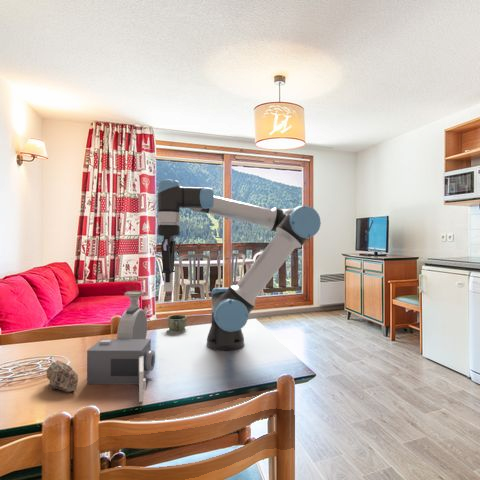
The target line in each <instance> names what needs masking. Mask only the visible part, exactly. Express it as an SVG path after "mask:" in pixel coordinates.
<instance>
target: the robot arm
mask: <svg viewBox="0 0 480 480" xmlns="http://www.w3.org/2000/svg"><path fill="white" fill-rule="evenodd" d="M214 193H215V191H214V189H213V188H212V187H206V186H201V187H200V186H197V187H196V186H181V183H180V181H179V180H177V179H161V180H160V181H159V182H158V184H157V215H156V218H157V223H158V225H157V235H158V236H159V237H160V236H163V239H162V240H161V241H162V242H161V245H160V248H161V259H162V260H161V262H162V264H161V265H162V271H161V273H162V274H163V291H164V292H171V293H172V292H173V289H174V287H173V285H174V283H173V282H174V279H173V276H174V275H173V273H176V270H175V256H176V255H175V254H176V252H175V251H176V245H177V244H176V241H175V236H176V237H178V236H180V235H181V234H180V228H181V227H180V225H179V224H180V223H181V221H180V219H181V216H180V215H181V213H180V208H181V209H185V208H186V209H190V210H191V211H193V212H195V213H196V212H197V213H204V214H209V215H213V216H217V217H222V218H226V219H229V220H230V219H231V220H235V221H238V222H244V223H248V224H253V225H256V226H261V227H265V228H267V229H268V230H269V231H271V232H274V233H275V232H276V234H275V236H274V237H273V238H272V239H271V240H270V242H269V243H268V244H267V246H266V247H265V248H264V249H263V250H262V252H261V253H260V254H259V256H258V257H257V258H256V260H255V261H254V262H253V263H252V265H251V266H250V267H249V268H248V270H247V271H246V272H245V273H244V275H243V276H241V278H240V279H239V281H238V282H237V284H231V285H230V286H228V287H213V289H212V290H211V295H210V296H211V316H210V317H211V323H210V324H211V325H210V328H209V331H208V334H207V336H206V338H207V339H206V345H207V347H208V348H210V349H213V350H219V351H233V350H237V349H240V348H242V347H243V346H244V345H245V337H244V334H243V331H242V329H243V328H244V327H245V325H246V324H247V322H248V320H249V315H250V313H251V312H252V311H253V310H254V308H255V307H256V298H257V297H258V296H259V295H260V293H261V292H262V291H263V290H264V288H265V287H266V286H267V285H268V283H269V282H270V281H271V279H272V278H273V277H274V276H275V274H277V272H278V271H279V269H280V268H281V267H282V266H283V265H284V263H285V262H286V261H287V259H288V258H289V257H290V255H291V254H292V253H293V251H294V250H295V249H300V248H302V247H303V245H305V243H306V242H307V241H308V239H310V238H313V237H314V236H316V234H318V232H319V230H320V229H321V217H320V215H319V213H318V212H317V210H316V209H315V208H313V207H311V206H309V205H304V204H303V205H302V204H301V205H297V206H295V207H292V208H278V207H273V208H268V207H263V206H260V205H255V204H251V203H247V202H242V201H238V200H233V199H230V198H224V197H221V196H216V195H215V194H214Z"/></svg>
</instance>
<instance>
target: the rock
mask: <svg viewBox="0 0 480 480" xmlns="http://www.w3.org/2000/svg"><path fill="white" fill-rule="evenodd" d="M46 378H47V379H48V380H49V386H48V387H49V389H51V390H60V391H63V392H64V393H71V392H76V390H77V386H78V382H79V374H78V373H77V372H75V370H73V368H72V367H71V366H70V365H68V364H67V363H65V362H63V361H60V360H56V361H53V362H51V364H50V365H49V367H48V368H47V370H46Z"/></svg>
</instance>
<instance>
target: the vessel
mask: <svg viewBox="0 0 480 480" xmlns="http://www.w3.org/2000/svg"><path fill="white" fill-rule="evenodd" d="M187 324H188V323H187V315H184V314H171V315H168V316H167V324H166V325H167V327H168V328H169V329H168V332H170V333H175V334H177V333H182V332H183V333H184V332H185V331H186V327H187Z"/></svg>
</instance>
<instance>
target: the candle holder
mask: <svg viewBox="0 0 480 480" xmlns="http://www.w3.org/2000/svg"><path fill="white" fill-rule="evenodd" d="M144 295H145V292H144V291H142V290H129V291H126V292H124V296H125V297H129V298H128V299H129V300H130V303H129V307H132V306H134V307H139V306H140V303H139V300H140V296H144Z"/></svg>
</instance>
